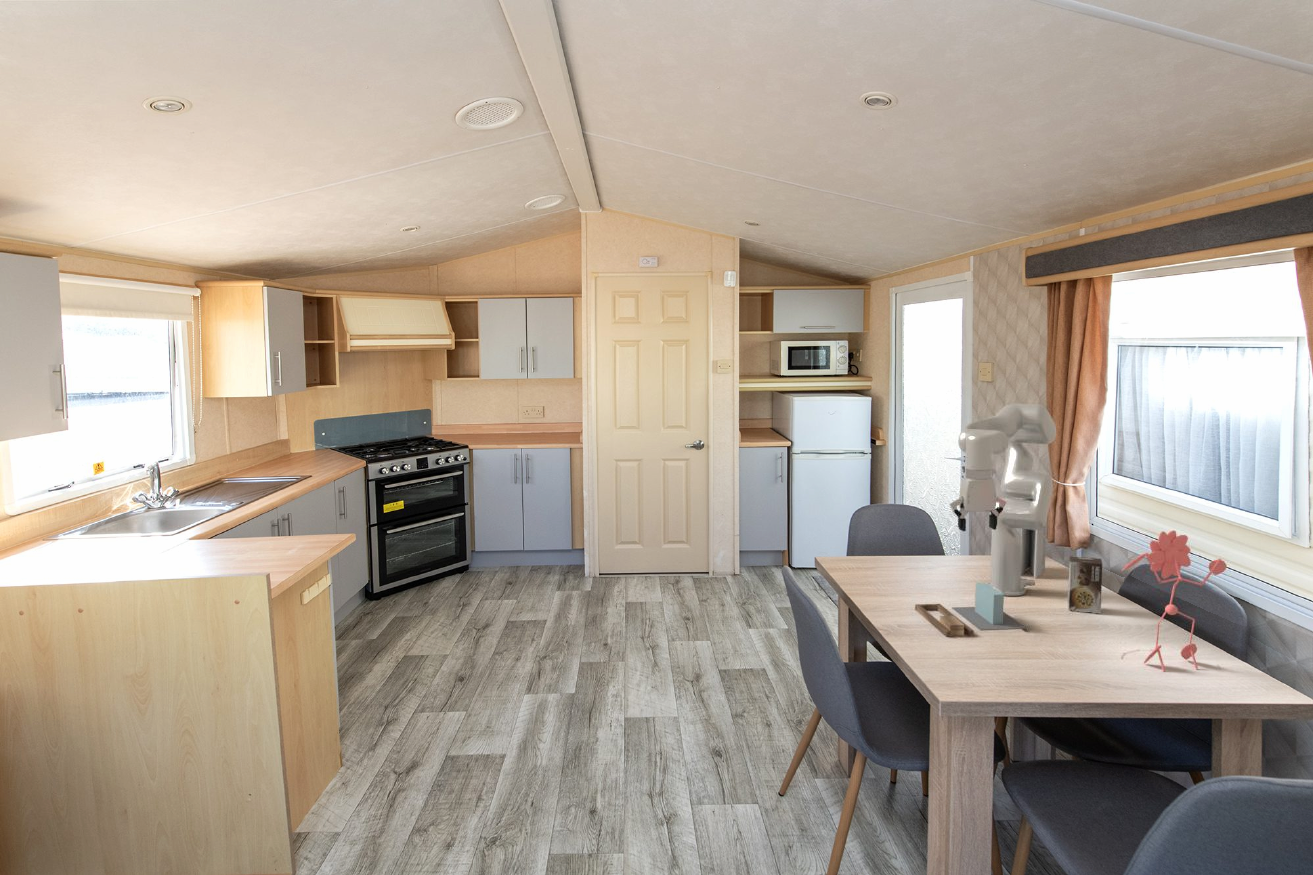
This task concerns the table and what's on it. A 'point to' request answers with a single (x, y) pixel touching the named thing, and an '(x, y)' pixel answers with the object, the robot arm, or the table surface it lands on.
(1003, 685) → the table surface
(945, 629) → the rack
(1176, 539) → the figurine
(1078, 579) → the coffee box
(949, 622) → the offcut top
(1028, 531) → the grey upright slab
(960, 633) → the block
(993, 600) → the teal rectangular block
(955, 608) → the mat
